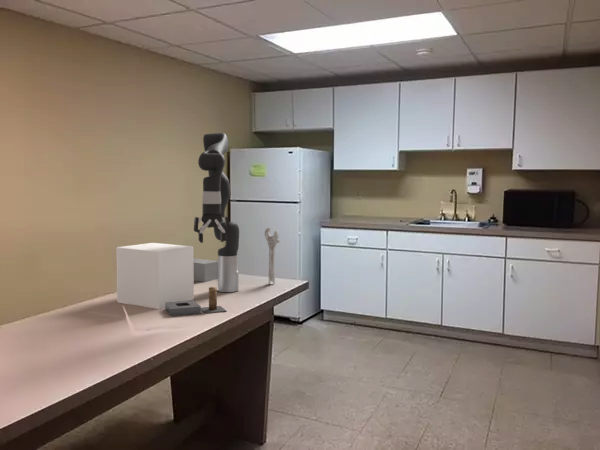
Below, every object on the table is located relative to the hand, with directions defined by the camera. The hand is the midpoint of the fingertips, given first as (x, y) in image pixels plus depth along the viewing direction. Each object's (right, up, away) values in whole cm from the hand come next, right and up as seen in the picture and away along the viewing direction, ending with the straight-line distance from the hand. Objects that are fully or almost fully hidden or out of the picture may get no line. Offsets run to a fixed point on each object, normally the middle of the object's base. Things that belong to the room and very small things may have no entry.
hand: (211, 242), depth 215 cm
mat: (0, -28, +2) cm, 28 cm away
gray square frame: (-12, -28, -1) cm, 31 cm away
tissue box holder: (-17, -23, +73) cm, 78 cm away
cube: (-28, -27, +18) cm, 43 cm away
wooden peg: (0, -28, +2) cm, 28 cm away
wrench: (+22, -24, +54) cm, 63 cm away
